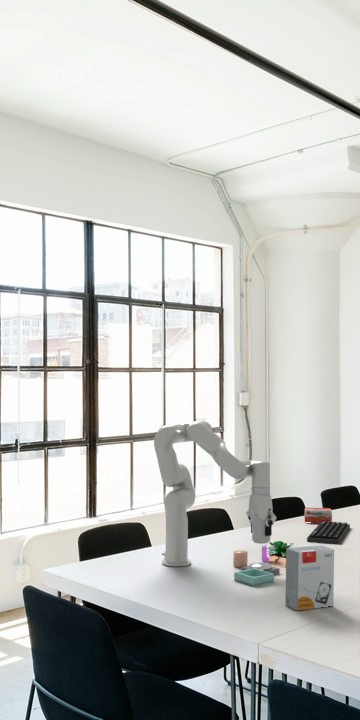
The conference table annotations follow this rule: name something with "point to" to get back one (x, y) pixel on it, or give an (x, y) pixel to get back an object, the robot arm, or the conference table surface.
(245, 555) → the peach rounded knob
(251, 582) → the trough
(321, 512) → the medicine box
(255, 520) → the can
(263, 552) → the bracket
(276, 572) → the base
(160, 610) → the conference table surface
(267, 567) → the checker pad
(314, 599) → the hard drive box
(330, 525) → the computer keyboard
